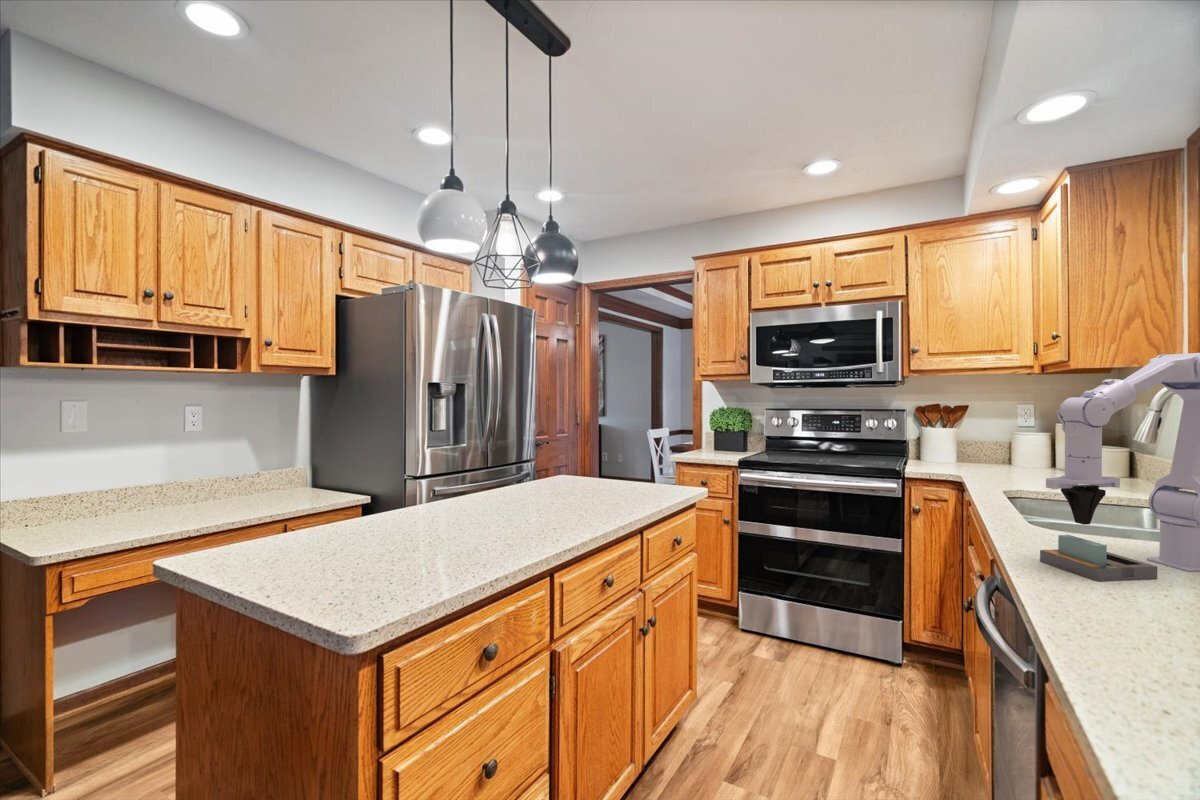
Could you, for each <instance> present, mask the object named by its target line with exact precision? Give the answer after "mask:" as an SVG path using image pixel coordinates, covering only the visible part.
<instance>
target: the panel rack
mask: <svg viewBox="0 0 1200 800" xmlns="http://www.w3.org/2000/svg"><path fill="white" fill-rule="evenodd" d="M1039 562H1042V563H1045V564H1046V565H1050V566H1052V567H1054V568H1058V569H1061V570H1064V571H1066V572H1070V573H1072V574H1075V575H1078V576H1081V577H1084V578H1087V579H1089V580H1092V581H1095V582H1115V581H1139V580H1141V581H1143V580H1158V567H1159V566H1157V565H1153V564H1150V563H1146V562H1143V561H1140V560H1137V559H1133V558H1129V557H1127V556H1122V555H1119V554H1115V553H1113V552H1109V551H1107V563H1106V566H1099V565H1096V564H1093V563H1090V562H1087V561H1084V560H1081V559H1077V558H1074V557H1071V556H1068V555H1065V554H1062V553H1059V552H1058V548H1057V549H1040V550H1039Z"/></svg>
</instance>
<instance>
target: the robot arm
mask: <svg viewBox="0 0 1200 800" xmlns="http://www.w3.org/2000/svg"><path fill="white" fill-rule="evenodd" d="M1159 384H1160V385H1161V386H1163V387H1164V388H1166V389H1167V390H1168V391H1170V392H1171V393H1173V394H1175V395H1178V396H1179V398H1181V399H1182V400H1183V402H1182V403H1183V404H1182V409H1181V414H1180V419H1179V424H1178V425H1179V426H1178V430H1177V435H1176V441H1175V448H1174V451H1173V455H1172V462H1171V467H1170V468H1171V469H1170V473H1168V474H1167V475H1165V476H1163V477H1160V478H1158V479H1157V480H1156V481H1155V485H1154V488H1153V490H1152V492H1151V493H1150V494H1149V497H1148V502H1147V503H1148V507H1149V510H1150V511H1151V513H1152V514H1154V515H1155V519H1156V520H1159V551H1158V553H1159V554H1158V555H1159V556H1154V557H1151V556H1150V557H1147V561H1150V562H1154V563H1157V564H1160V565H1164V566H1168V567H1172V568H1174V569H1178V570H1181V571H1184V572H1185V571H1186V572H1200V352H1193V353H1188V352H1187V353H1173V354H1169V353H1162V354H1159V355H1156V356H1155V357H1153V358H1150V359H1148V362H1147V364H1145V365H1144V366H1142V367H1141V368H1140V369H1138V370H1137V371H1135V372H1133V373H1132V374H1130V375H1129V376H1127V377H1126V378H1124V379H1118V378H1117V379H1115V378H1114V379H1113V378H1107V379H1104V380H1102V381H1101V384H1100V385H1099V386H1096V387H1095V388H1093V389H1091V390H1085V391H1084V392H1083V394H1082V395H1080V396H1079V397H1078V396H1077V397H1073V396H1072V397H1068V398H1066V399H1065V400H1064V401H1062V403H1061V404H1060V406H1059V408H1058V410H1056V415H1057V418H1058V420H1059V421H1060V423H1061V431H1063V433H1064V474H1061V476H1057V477H1049V478H1045V488H1046V489H1052V490H1059V489H1060V492H1061V493H1062V495H1063V496H1064V498H1066V500H1067V502H1068V504H1069V507H1070V510H1071V513H1072V516H1073V519H1074V522H1075V523H1077V524H1080V525H1091V522H1092V520H1093V517H1094V514H1095V512H1096V509H1097V507H1098V505H1099V503H1100V502H1101V501H1102V500H1103V498H1104V497H1105V496H1106V494H1107V493H1106V490H1105V489H1102V488H1114V489H1115V488H1117V489H1119V488H1121V478H1120V477H1116V476H1103V471H1102V470H1103V468H1102V467H1103V426H1104V425H1107V424H1108V423H1109V422H1110V420H1111V417H1112V415H1114V414H1115V413H1116V412H1118V411H1120V410H1122V409H1123V408H1125V407H1127V406H1129V405H1131V404H1133V403H1134V402H1135V401H1136V400H1137V395H1138V394H1139V393H1141V392H1144V391H1146V390H1148V389H1149V388H1152V387H1155V386H1157V385H1159ZM1187 490H1191V491H1187ZM1194 491H1195V492H1194Z"/></svg>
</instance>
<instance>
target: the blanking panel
mask: <svg viewBox="0 0 1200 800" xmlns="http://www.w3.org/2000/svg"><path fill="white" fill-rule="evenodd" d="M1057 539H1058V541H1057V543H1058V544H1057V546H1058V547H1057V549H1058V552H1059V553H1062V554H1065V555H1068V556H1071V557H1074V558H1077V559H1081V560H1084V561H1087V562H1090V563H1093V564H1096V565H1099V566H1106V563H1107V552H1108V548H1107V546H1108V545H1106V544H1104V543H1103V544H1102V543H1100V542H1095V541H1092V540H1090V539H1086V538H1081V537H1078V536H1074V535H1070V534H1059V535H1058V538H1057Z"/></svg>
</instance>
